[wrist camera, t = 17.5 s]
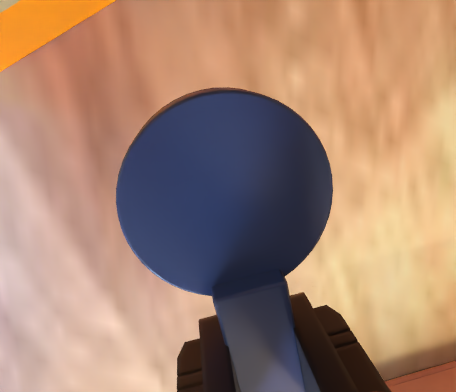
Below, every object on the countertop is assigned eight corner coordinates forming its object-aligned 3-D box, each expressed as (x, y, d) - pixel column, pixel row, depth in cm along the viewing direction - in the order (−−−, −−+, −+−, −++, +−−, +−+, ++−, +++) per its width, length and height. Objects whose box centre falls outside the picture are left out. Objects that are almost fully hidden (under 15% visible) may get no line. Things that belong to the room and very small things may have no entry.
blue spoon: (353, 446, 13) (379, 501, 12) (222, 484, 13) (228, 546, 11) (301, 65, 9) (330, 64, 7) (94, 114, 8) (72, 125, 7)
